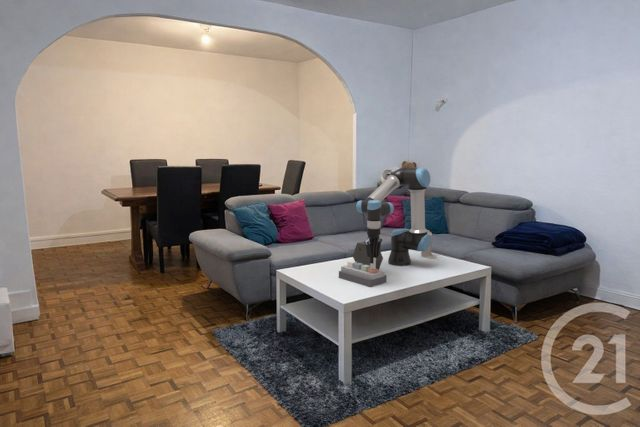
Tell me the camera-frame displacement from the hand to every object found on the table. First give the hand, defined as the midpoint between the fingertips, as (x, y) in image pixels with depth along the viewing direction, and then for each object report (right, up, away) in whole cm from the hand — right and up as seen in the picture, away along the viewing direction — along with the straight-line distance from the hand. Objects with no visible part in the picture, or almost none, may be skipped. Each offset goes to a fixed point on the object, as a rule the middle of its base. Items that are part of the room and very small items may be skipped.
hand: (372, 268), depth 257 cm
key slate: (-7, -1, +9) cm, 11 cm away
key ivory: (-11, 0, +13) cm, 17 cm away
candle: (+48, 0, +64) cm, 80 cm away
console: (-5, -8, +7) cm, 12 cm away
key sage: (-4, -2, +5) cm, 6 cm away
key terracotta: (0, -3, +1) cm, 3 cm away
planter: (0, -5, +28) cm, 29 cm away
